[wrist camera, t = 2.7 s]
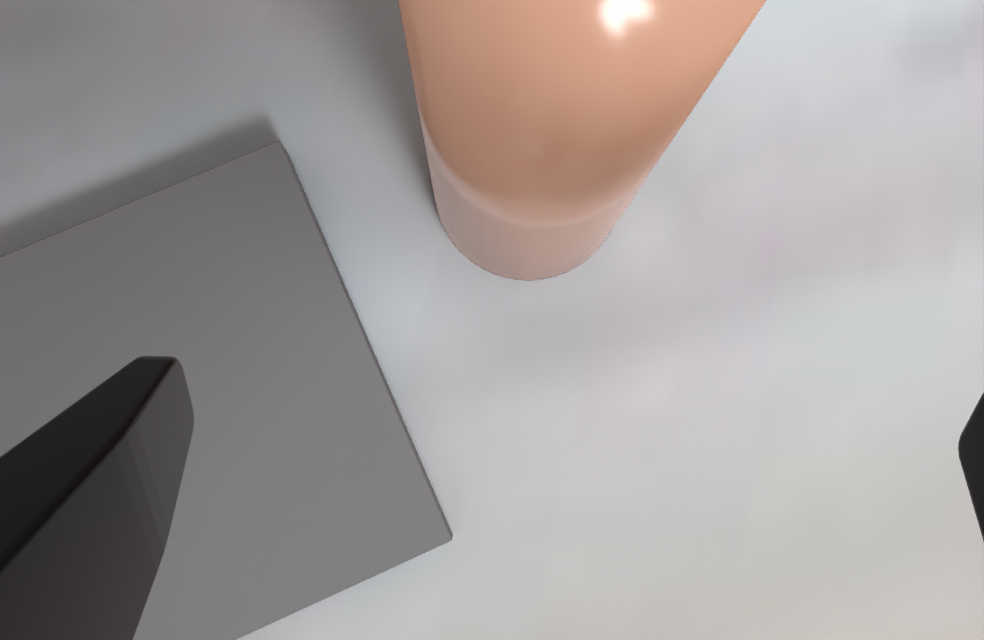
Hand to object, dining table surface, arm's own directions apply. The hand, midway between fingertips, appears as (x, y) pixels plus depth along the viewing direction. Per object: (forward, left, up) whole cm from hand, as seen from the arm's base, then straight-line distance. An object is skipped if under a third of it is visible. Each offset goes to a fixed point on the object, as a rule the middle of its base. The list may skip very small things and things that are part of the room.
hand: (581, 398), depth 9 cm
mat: (+4, +8, -12) cm, 15 cm away
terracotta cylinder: (+6, -3, -12) cm, 14 cm away
